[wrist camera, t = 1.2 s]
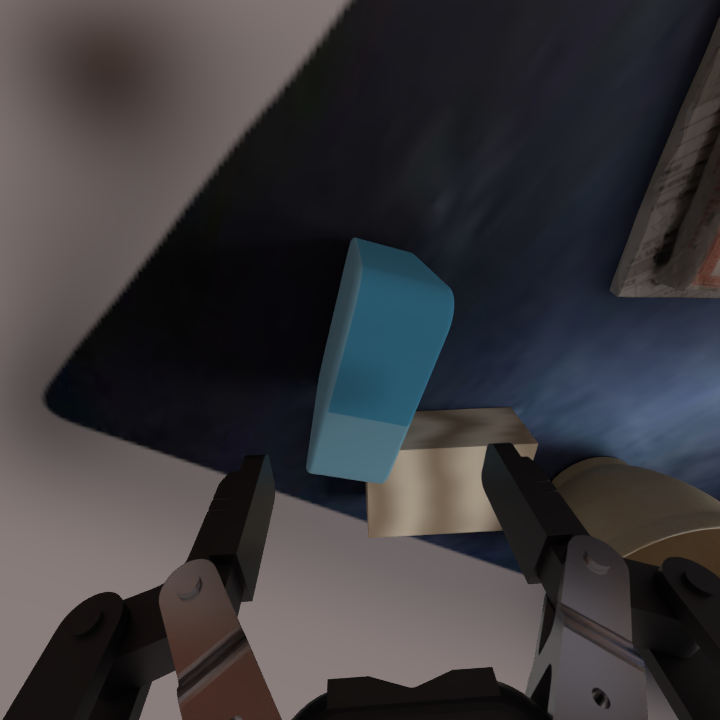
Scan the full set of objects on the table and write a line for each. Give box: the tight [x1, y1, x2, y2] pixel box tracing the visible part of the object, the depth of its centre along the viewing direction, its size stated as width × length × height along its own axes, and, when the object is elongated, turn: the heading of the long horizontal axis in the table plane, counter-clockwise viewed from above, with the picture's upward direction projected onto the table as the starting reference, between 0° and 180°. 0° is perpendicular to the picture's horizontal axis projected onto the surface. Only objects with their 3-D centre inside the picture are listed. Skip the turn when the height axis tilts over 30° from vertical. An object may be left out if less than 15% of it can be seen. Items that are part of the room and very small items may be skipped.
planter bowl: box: [552, 457, 720, 578], centre depth 32 cm, size 16×16×11 cm
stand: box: [365, 407, 538, 538], centre depth 31 cm, size 14×11×5 cm
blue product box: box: [306, 238, 454, 484], centre depth 21 cm, size 12×4×12 cm, turn 166°
